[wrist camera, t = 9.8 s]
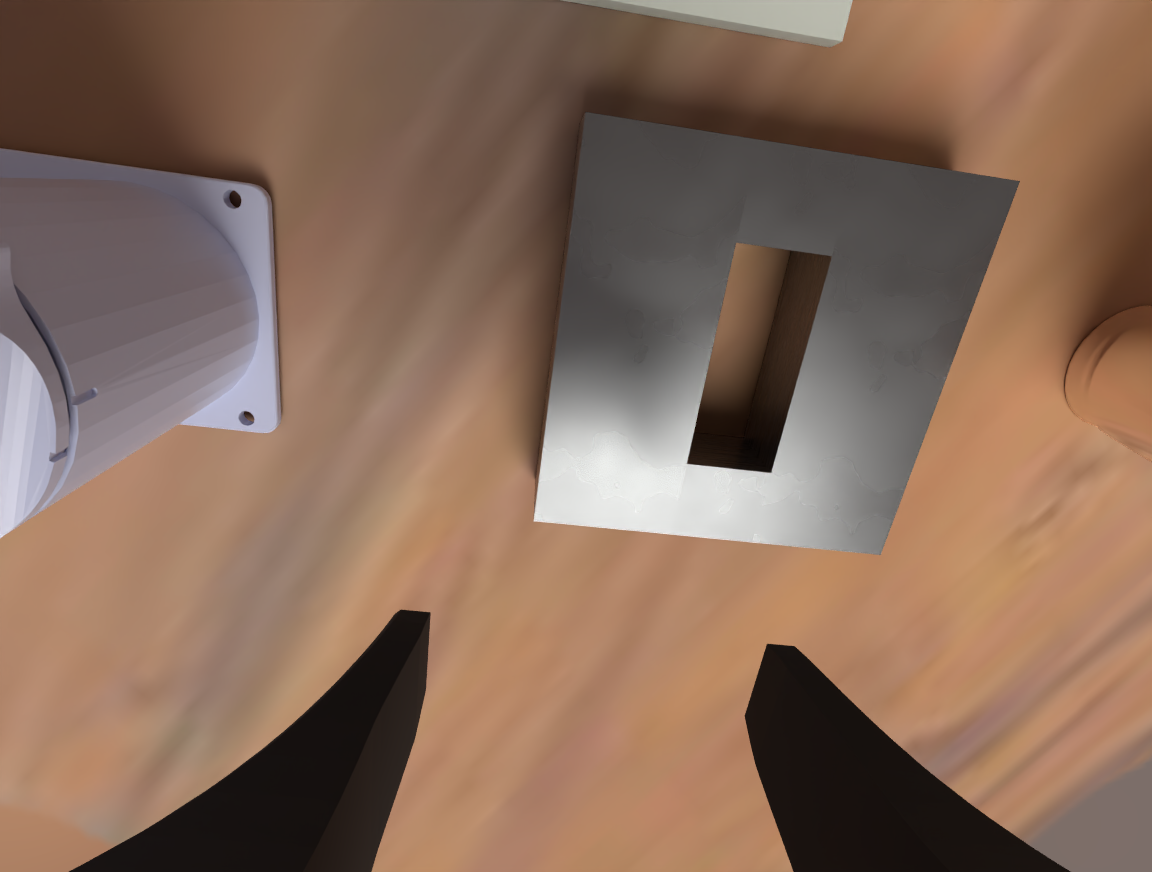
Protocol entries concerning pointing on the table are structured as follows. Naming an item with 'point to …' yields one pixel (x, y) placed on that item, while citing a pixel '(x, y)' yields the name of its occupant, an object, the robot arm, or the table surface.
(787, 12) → the pad
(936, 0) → the table surface
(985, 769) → the table surface
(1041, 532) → the table surface
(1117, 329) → the cup with straw
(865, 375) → the grey plate with slot
